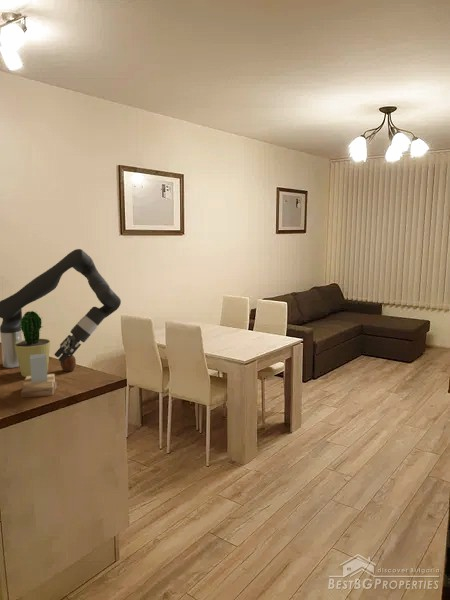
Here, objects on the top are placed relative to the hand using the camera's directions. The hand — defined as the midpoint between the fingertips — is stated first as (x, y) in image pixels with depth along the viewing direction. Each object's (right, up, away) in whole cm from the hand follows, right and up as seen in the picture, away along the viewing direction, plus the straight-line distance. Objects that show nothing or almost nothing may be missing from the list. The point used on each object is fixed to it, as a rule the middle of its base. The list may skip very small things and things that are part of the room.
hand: (58, 358), depth 190 cm
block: (-7, -8, -3) cm, 11 cm away
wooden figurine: (-4, -9, +25) cm, 27 cm away
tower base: (-7, -14, -1) cm, 16 cm away
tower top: (-7, -11, -2) cm, 13 cm away
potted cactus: (-19, -10, +21) cm, 30 cm away
